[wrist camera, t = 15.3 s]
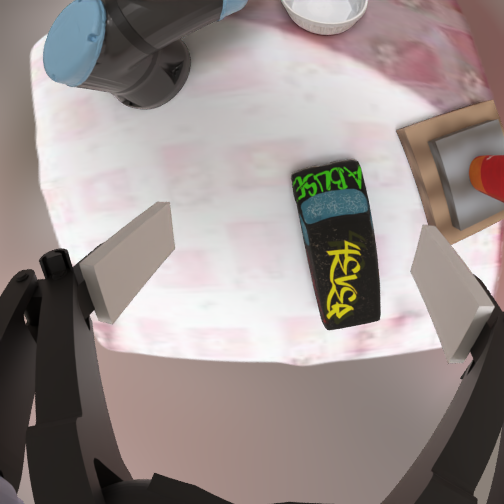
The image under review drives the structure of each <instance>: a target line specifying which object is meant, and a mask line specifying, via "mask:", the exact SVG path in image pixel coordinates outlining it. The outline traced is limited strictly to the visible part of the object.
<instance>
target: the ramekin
mask: <svg viewBox="0 0 504 504" xmlns="http://www.w3.org/2000/svg"><path fill="white" fill-rule="evenodd" d="M281 2H282V4H283V6H284V7H285V8H286V10H287V12H288V14H289V16H290V17H291V19H292V20H293V21H294V22H295V23H296V24H297V25H298V26H300V27H302V28H303V29H305V30H307V31H310V32H312V33H316V34H321V35H332V34H338V33H341V32H344V31H346V30H348V29H349V28H351V27H352V26H353V25H354V24H355V23H356V22H357V20H359V19H360V18H361V17H362V16H363V14H364V13H365V11H366V8H367V4H368V0H281Z"/></svg>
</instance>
